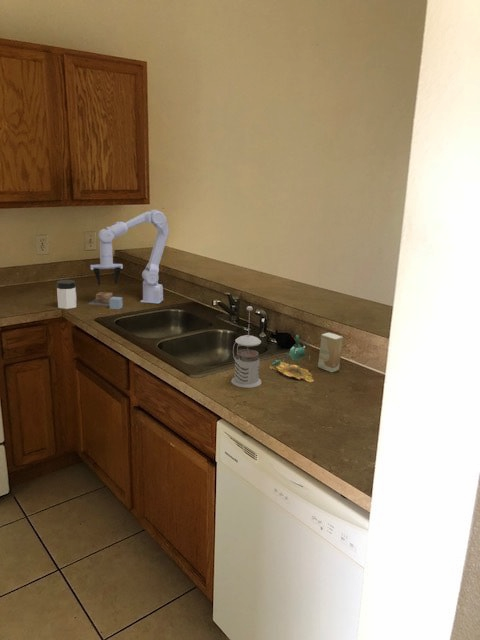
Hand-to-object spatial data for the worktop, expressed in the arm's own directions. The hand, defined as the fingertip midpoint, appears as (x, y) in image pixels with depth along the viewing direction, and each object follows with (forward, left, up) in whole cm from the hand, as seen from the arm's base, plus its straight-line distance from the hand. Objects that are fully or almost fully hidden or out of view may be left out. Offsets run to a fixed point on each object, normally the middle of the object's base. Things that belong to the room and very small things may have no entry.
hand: (107, 283), depth 248 cm
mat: (+2, -1, -10) cm, 10 cm away
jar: (+15, +11, -10) cm, 21 cm away
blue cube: (-7, +7, -10) cm, 14 cm away
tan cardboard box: (+2, -1, -9) cm, 10 cm away
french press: (-77, +76, -10) cm, 108 cm away
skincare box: (-104, +59, -10) cm, 120 cm away
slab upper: (+2, -1, -7) cm, 8 cm away
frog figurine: (-92, +66, -10) cm, 113 cm away
